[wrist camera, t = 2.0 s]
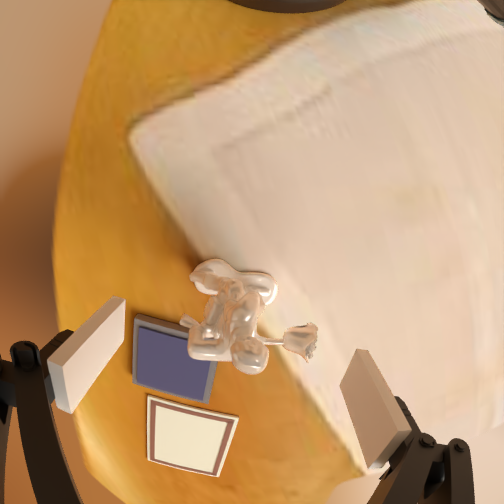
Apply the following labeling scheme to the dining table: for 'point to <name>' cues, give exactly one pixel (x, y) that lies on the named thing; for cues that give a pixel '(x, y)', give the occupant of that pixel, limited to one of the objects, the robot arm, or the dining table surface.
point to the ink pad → (169, 360)
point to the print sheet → (188, 436)
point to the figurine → (239, 319)
